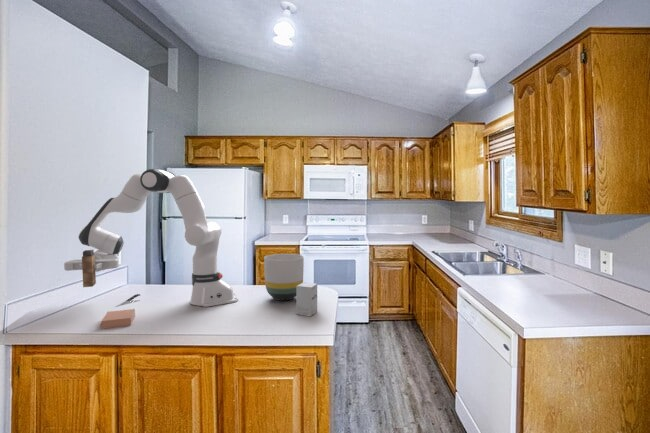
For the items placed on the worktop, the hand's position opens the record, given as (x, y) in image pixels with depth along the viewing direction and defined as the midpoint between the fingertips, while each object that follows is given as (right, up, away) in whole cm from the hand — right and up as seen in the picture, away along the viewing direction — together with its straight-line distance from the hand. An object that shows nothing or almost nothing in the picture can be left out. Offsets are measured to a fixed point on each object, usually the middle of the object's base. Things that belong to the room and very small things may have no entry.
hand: (88, 267), depth 146 cm
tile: (+15, -20, -1) cm, 24 cm away
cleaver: (+7, -21, +20) cm, 29 cm away
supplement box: (+93, -21, +5) cm, 95 cm away
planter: (+80, -20, +26) cm, 87 cm away
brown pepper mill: (0, -8, +1) cm, 8 cm away
